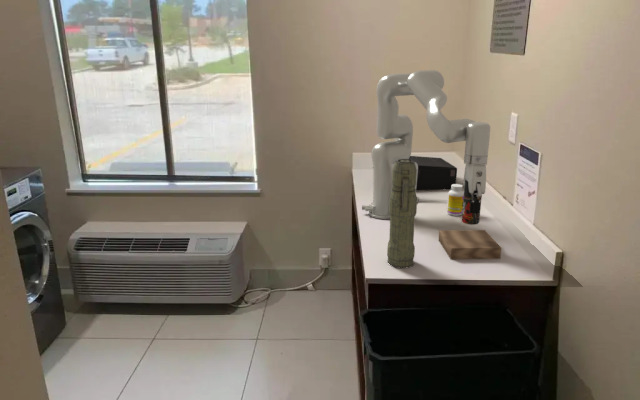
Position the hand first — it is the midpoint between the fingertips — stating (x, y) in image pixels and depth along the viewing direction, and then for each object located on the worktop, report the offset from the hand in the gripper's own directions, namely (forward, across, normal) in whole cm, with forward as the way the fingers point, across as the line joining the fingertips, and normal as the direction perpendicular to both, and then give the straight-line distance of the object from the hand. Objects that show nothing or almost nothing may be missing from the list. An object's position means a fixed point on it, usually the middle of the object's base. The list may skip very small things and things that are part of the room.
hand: (471, 209), depth 170 cm
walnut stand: (+15, 0, 0) cm, 15 cm away
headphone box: (+15, +89, +1) cm, 90 cm away
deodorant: (+5, 0, 0) cm, 5 cm away
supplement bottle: (+15, +39, -6) cm, 42 cm away
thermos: (+15, -11, +26) cm, 32 cm away
